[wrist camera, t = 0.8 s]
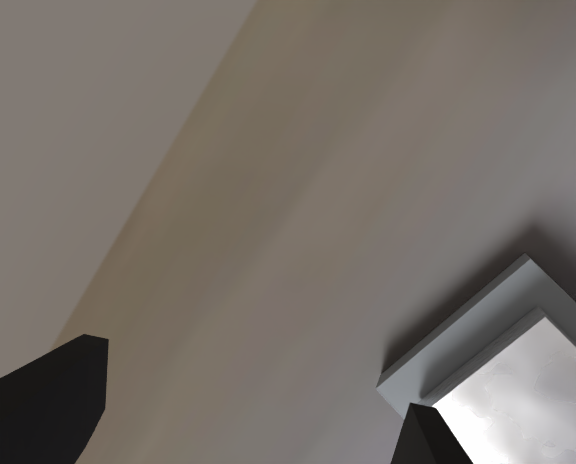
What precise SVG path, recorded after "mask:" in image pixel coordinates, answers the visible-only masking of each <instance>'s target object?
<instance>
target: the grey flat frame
mask: <svg viewBox="0 0 576 464" xmlns="http://www.w3.org/2000/svg"><path fill="white" fill-rule="evenodd" d="M537 306H539V307H540V308H541V309H542V310H543V311H544V312H545V313H546V314H547V315H548V316H549V317H550V318H551V319H552V320H553V321H554V322H555V323H556V324H557V325H558V326H559V327H560V328H561V329H562V330H563V331H564V332H565V333H566V334H567V335H568V336H569V337H570V338H571V339H572V340H573V341H574V342H575V343H576V302H575V301H574V300H573V299H572V298H571V297H570V296H569V295H568V294H567V293H566V292H565V291H564V290H563V289H562V288H561V287H560V286H559V285H558V284H557V283H556V282H555V281H554V280H553V279H552V278H551V277H550V276H548V275H547V274H546V273H545V272H544V271H543V270H542V269H541V268H540V267H539V266H538V265H537V264H536V263H535V262H534V261H533V260H532V259H531V258H530V257H529V256H528V255H527V254H526V253H524V254H523V255H521V256H520V257H519V258H518V259H517V260H516V261H514V262H513V263H512V264H511V265H510V266H508V267H507V268H506V269H505V270H504V271H503V272H501V273H500V274H499V275H498V276H497V277H495V278H494V279H493V280H492V281H491V282H490V283H488V284H487V285H486V286H485V287H484V288H483V289H481V290H480V291H479V292H478V293H477V294H475V295H474V296H473V297H472V298H471V299H470V300H468V301H467V302H466V303H465V304H464V305H462V306H461V307H460V308H459V309H458V310H457V311H455V312H454V313H453V314H452V315H451V316H449V317H448V318H447V319H446V320H445V321H444V322H442V323H441V324H440V325H439V326H438V327H436V328H435V329H434V330H433V331H432V332H431V333H429V334H428V335H427V336H426V337H425V338H423V339H422V340H421V341H420V342H419V343H418V344H416V345H415V346H414V347H413V348H412V349H410V350H409V351H408V352H407V353H406V354H405V355H403V356H402V357H401V358H400V359H399V360H397V361H396V362H395V363H394V364H393V365H392V366H390V367H389V368H388V369H387V370H386V371H385V372H383V373H382V374H381V375H380V378H379V381H378V384H377V386H376V390H377V391H378V392H379V393H380V394H381V395H382V396H383V397H384V398H385V400H386V401H387V402H388V403H389V404H390V405H391V406H392V407H393V408H394V409H395V410H396V411H397V412H398V414H399V415H400V416H401V417H402V418H403V419H404V420H405V416H406V413H407V410H408V407H409V404H410V402H411V403H415V404H417V402H418V401H420V400H421V399H422V398H423V397H425V396H426V395H427V394H428V393H430V392H431V391H432V390H433V389H435V388H436V387H437V386H438V385H440V384H441V383H442V382H443V381H445V380H446V379H447V378H448V377H450V376H451V375H452V374H453V373H455V372H456V371H457V370H458V369H460V368H461V367H462V366H463V365H465V364H466V363H467V362H468V361H469V360H471V359H472V358H473V357H474V356H476V355H477V354H478V353H479V352H481V351H482V350H483V349H484V348H486V347H487V346H488V345H489V344H491V343H492V342H493V341H494V340H496V339H497V338H498V337H499V336H501V335H502V334H503V333H504V332H506V331H507V330H508V329H509V328H511V327H512V326H513V325H514V324H516V323H517V322H518V321H519V320H521V319H522V318H523V317H524V316H526V315H527V314H528V313H529V312H531V311H532V310H533V309H534V308H536V307H537Z"/></svg>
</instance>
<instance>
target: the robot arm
mask: <svg viewBox="0 0 576 464" xmlns="http://www.w3.org/2000/svg"><path fill="white" fill-rule="evenodd" d="M108 342H109V339H105V338H100V337H96V336H91V335H86V334H83V335H81V336H79V337H77V338H75V339H73V340H71V341H69V342H67V343H66V344H64V345H62V346H60V347H58V348H56V349H54V350H53V351H51V352H49V353H47V354H45V355H43V356H42V357H40V358H38V359H36V360H34V361H32V362H30V363H28V364H27V365H25V366H23V367H21V368H19V369H17V370H15V371H13V372H11V373H10V374H8V375H6V376H4V377H2V378H0V464H75V462H76V461H77V459H78V458H79V456H80V455H81V453H82V452H83V450H84V449H85V447H86V445H87V443H88V441H89V439H90V438H91V436H92V434H93V432H94V430H95V428H96V426H97V424H98V422H99V420H100V418H101V416H102V414H103V412H104V410H105V402H106V382H107V362H108ZM391 464H474V463H473V462H472V460H471V459H470V457H469V456H468V455H467V453H466V452H465V450H464V449H463V447H462V446H461V444H460V443H459V441H458V440H457V438H456V437H455V435H454V434H453V432H452V431H451V429H450V428H449V426H448V425H447V423H446V422H445V420H444V419H443V417H442V416H441V414H440V413H439V411H438V410H437V408H435V407H430V406H425V405H420V404H415V403H411V402H410V404H409V407H408V410H407V413H406V416H405V420H404V423H403V426H402V429H401V432H400V436H399V439H398V442H397V445H396V448H395V452H394V455H393V458H392V461H391Z"/></svg>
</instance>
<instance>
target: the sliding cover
mask: <svg viewBox="0 0 576 464" xmlns="http://www.w3.org/2000/svg"><path fill="white" fill-rule="evenodd" d="M417 404H420V405H425V406H430V407H435V408H437V410H438V411H439V413H440V414H441V416H442V417H443V419H444V420H445V422H446V423H447V425H448V426H449V428H450V429H451V431H452V432H453V434H454V435H455V437H456V438H457V440H458V441H459V443H460V444H461V446H462V447H463V449H464V450H465V452H466V453H467V455H468V456H469V457H470V459H471V460H472V462H473V463H474V464H576V343H575V342H574V341H573V340H572V339H571V338H570V337H569V336H568V335H567V334H566V333H565V332H564V331H563V330H562V329H561V328H560V327H559V326H558V325H557V324H556V323H555V322H554V321H553V320H552V319H551V318H550V317H549V316H548V315H547V314H546V313H545V312H544V311H543V310H542V309H541V308H540V307H539V306H537V307H536V308H534V309H533V310H532V311H531V312H529V313H528V314H527V315H526V316H524V317H523V318H522V319H521V320H519V321H518V322H517V323H516V324H514V325H513V326H512V327H511V328H509V329H508V330H507V331H506V332H504V333H503V334H502V335H501V336H499V337H498V338H497V339H496V340H494V341H493V342H492V343H491V344H489V345H488V346H487V347H486V348H484V349H483V350H482V351H481V352H479V353H478V354H477V355H476V356H474V357H473V358H472V359H471V360H469V361H468V362H467V363H466V364H465V365H463V366H462V367H461V368H460V369H458V370H457V371H456V372H455V373H453V374H452V375H451V376H450V377H448V378H447V379H446V380H445V381H443V382H442V383H441V384H440V385H438V386H437V387H436V388H435V389H433V390H432V391H431V392H430V393H428V394H427V395H426V396H425V397H423V398H422V399H421V400H420V401H418V402H417Z"/></svg>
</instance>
